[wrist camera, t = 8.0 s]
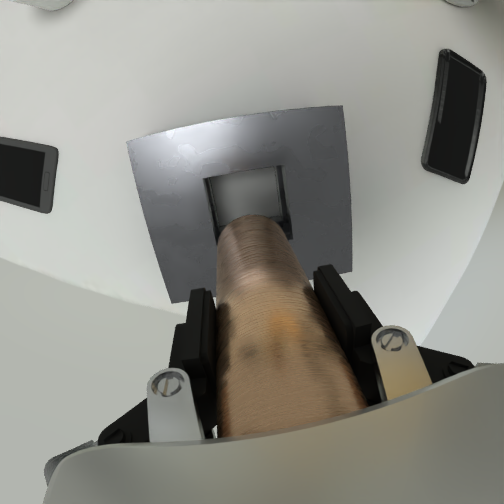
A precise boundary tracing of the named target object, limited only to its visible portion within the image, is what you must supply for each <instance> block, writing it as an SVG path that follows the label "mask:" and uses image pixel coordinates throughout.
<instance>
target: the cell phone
mask: <svg viewBox="0 0 504 504" xmlns="http://www.w3.org/2000/svg"><path fill="white" fill-rule="evenodd" d="M57 163H58V149H57V148H55V147H53V146H49V145H44V144H39V143H33V142H28V141H22V140H17V139H11V138H5V137H0V201H3V202H7V203H10V204H13V205H17V206H20V207H24V208H27V209H30V210H34V211H37V212H41V213H46V214H48V213H50V212H51V210H52V206H53V196H54V186H55V178H56V170H57Z"/></svg>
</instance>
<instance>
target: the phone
mask: <svg viewBox="0 0 504 504" xmlns="http://www.w3.org/2000/svg"><path fill="white" fill-rule="evenodd" d="M486 83H487V82H486V76H485V74H484V73H483V71H481V70H480V69H479V68H477V67H476V66H474V65H473V64H472V63H470V62H469V61H467V60H466V59H464V58H463V57H461V56H460V55H458V54H457V53H455V52H453V51H452V50H450V49H443V50H441V51H440V52H439V58H438V67H437V76H436V83H435V90H434V96H433V103H432V109H431V114H430V120H429V125H428V130H427V135H426V140H425V144H424V149H423V153H422V157H421V164H422V166H423V168H424V169H425V170H427V171H430V172H432V173H435V174H438V175H440V176H443V177H446V178H448V179H451V180H453V181H456V182H458V183H461V184H466V183H467V182H468V180H469V178H470V175H471V171H472V166H473V162H474V158H475V153H476V149H477V144H478V139H479V133H480V128H481V122H482V115H483V108H484V101H485V93H486Z"/></svg>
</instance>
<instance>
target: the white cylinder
mask: <svg viewBox="0 0 504 504" xmlns="http://www.w3.org/2000/svg"><path fill="white" fill-rule="evenodd" d="M9 1H13V2H18V3H22V4H26V5H30V6H34V7H38V8H42V9H45V10H49V11H54V10H59V9H61V8H63V7H65V6H67V5H68V4H69V3H70V2H72V1H73V0H9Z"/></svg>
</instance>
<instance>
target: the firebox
mask: <svg viewBox="0 0 504 504" xmlns="http://www.w3.org/2000/svg"><path fill="white" fill-rule="evenodd" d="M126 143H127V148H128V152H129V157H130V161H131V166H132V170H133V174H134V178H135V182H136V186H137V190H138V194H139V198H140V202H141V206H142V209H143V213H144V217H145V220H146V224H147V227H148V231H149V234H150V238H151V241H152V244H153V248H154V251H155V254H156V257H157V261H158V264H159V267H160V270H161V273H162V276H163V279H164V282H165V285H166V288H167V291H168V294H169V297H170V300H171V303H179V302H186V301H189V298H190V292H191V290H192V289H198V288H204V287H205V289H206V291H208V290H211V293H212V296H213V297H216V287H217V245H218V240H219V237H220V235H221V233H222V231H223V230H224V228H225V227H226V226H227V225H224V226H219V222H218V217H217V212H216V207H215V202H214V197H213V192H212V187H211V182H210V177H213V176H218V175H224V174H229V173H235V172H240V171H246V170H252V169H258V168H265V167H271V166H274V171H275V178H276V185H277V192H278V200H279V207H280V215H281V216H276V217H270V219H271V220H273V221H274V222H276V223H277V224H278V225H279V226H280V227H281V229H282V230H283V232H284V234H285V236H286V238H287V240H288V242H289V244H290V245H291V247H292V249H293V251H294V253H295V255H296V257H297V259H298V261H299V263H300V265H301V267H302V269H303V270H304V272H305V274H306V276H307V278H308V280H312V279H313V271H316V270H317V267H318V266H323V265H328V264H332V265H333V267H334V268H335V269H336V271H337V272H338V274H342V273H347V272H352V217H351V194H350V177H349V164H348V152H347V141H346V131H345V122H344V113H343V105H342V106H325V107H311V108H300V109H290V110H281V111H273V112H265V113H258V114H251V115H244V116H238V117H232V118H226V119H220V120H215V121H210V122H205V123H200V124H195V125H190V126H186V127H181V128H177V129H172V130H168V131H164V132H160V133H156V134H152V135H148V136H145V137H141V138H137V139H134V140H130V141H127V142H126Z"/></svg>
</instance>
